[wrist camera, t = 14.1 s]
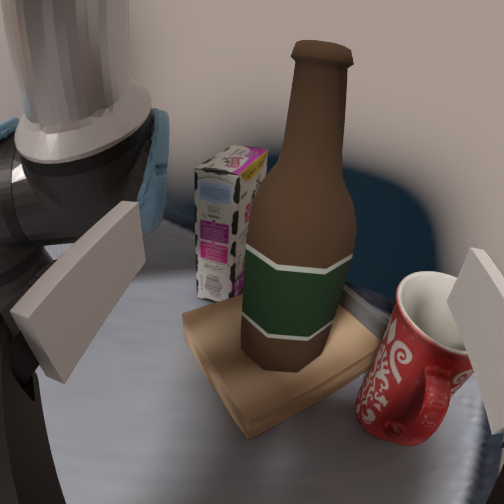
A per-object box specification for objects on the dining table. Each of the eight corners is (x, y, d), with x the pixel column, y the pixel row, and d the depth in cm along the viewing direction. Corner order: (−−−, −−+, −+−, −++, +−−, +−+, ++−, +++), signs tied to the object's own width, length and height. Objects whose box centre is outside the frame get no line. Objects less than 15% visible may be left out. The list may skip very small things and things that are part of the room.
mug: (361, 362, 31) (405, 256, 24) (434, 388, 27) (497, 291, 20) (315, 462, 22) (371, 372, 14) (407, 493, 18) (509, 417, 11)
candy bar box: (235, 310, 37) (240, 174, 28) (195, 299, 38) (190, 167, 29) (260, 259, 46) (270, 147, 37) (227, 252, 47) (231, 142, 38)
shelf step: (185, 340, 33) (180, 298, 29) (304, 296, 40) (312, 256, 37) (247, 439, 23) (251, 407, 20) (376, 363, 31) (396, 325, 27)
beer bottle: (261, 303, 32) (285, 45, 19) (333, 329, 30) (393, 60, 17) (221, 354, 26) (229, 32, 13) (305, 390, 24) (384, 43, 11)
